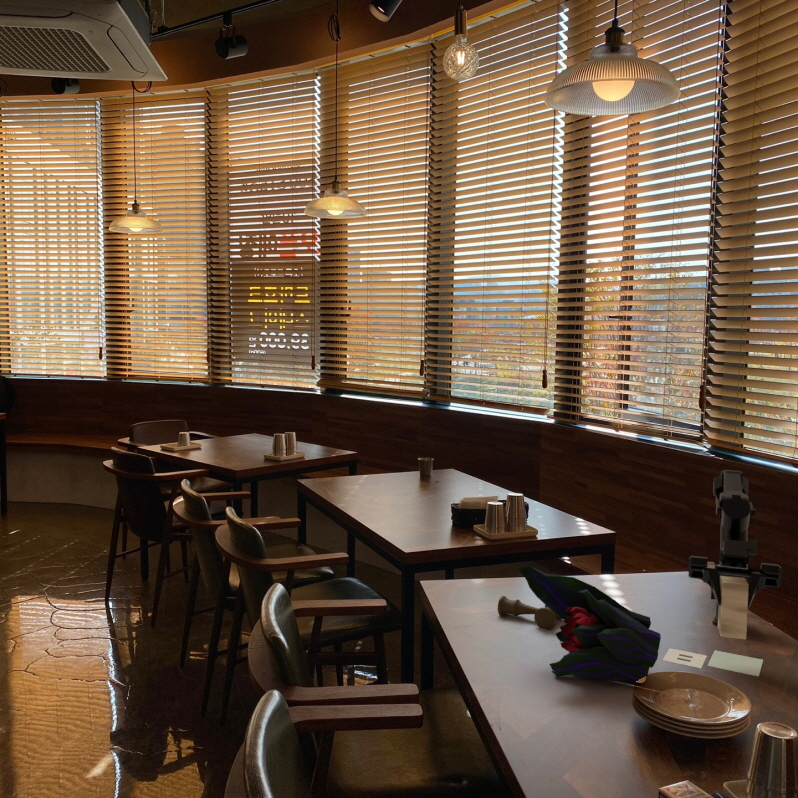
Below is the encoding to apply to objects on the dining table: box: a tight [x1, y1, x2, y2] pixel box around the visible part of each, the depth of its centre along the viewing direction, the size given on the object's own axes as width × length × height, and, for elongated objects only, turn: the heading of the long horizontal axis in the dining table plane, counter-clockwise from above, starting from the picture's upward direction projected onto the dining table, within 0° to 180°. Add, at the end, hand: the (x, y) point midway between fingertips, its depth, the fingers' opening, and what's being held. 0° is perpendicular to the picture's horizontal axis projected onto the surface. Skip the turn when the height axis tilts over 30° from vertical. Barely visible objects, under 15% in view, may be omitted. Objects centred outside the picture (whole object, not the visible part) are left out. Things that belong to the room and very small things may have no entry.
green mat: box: [707, 650, 764, 677], centre depth 163 cm, size 10×10×1 cm
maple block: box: [717, 576, 750, 640], centre depth 163 cm, size 5×5×12 cm
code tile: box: [662, 648, 708, 669], centre depth 166 cm, size 8×8×1 cm
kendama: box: [497, 595, 563, 631], centre depth 189 cm, size 6×10×20 cm
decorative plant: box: [518, 565, 662, 684], centre depth 158 cm, size 21×26×30 cm
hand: (733, 606), depth 161 cm, fingers closed on maple block, 5 cm apart
